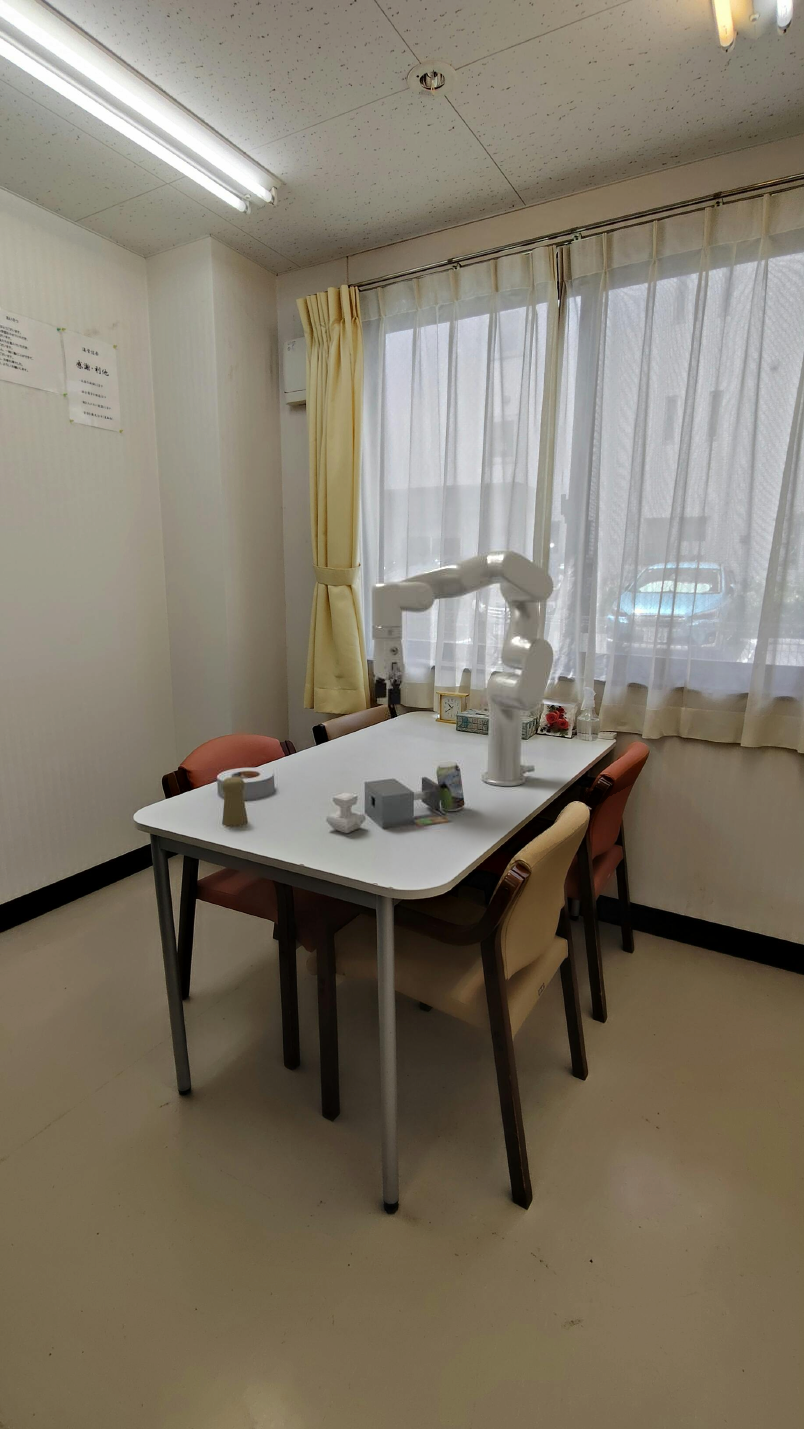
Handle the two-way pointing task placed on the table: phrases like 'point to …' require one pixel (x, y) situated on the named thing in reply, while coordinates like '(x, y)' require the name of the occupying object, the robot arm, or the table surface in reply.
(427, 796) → the plunger
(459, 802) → the beverage can
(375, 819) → the block
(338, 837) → the table surface
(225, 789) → the cork
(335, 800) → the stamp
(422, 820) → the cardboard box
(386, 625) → the robot arm
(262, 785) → the tape roll
